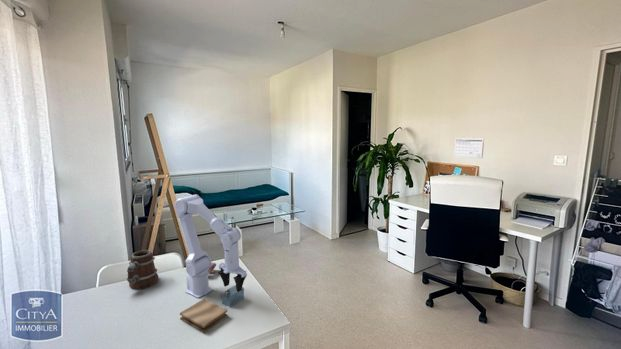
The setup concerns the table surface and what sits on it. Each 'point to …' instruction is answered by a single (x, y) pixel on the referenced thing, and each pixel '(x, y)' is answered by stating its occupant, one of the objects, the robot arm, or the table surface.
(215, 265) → the video game controller
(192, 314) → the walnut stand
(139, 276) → the brown wooden bucket
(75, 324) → the table surface
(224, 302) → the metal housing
